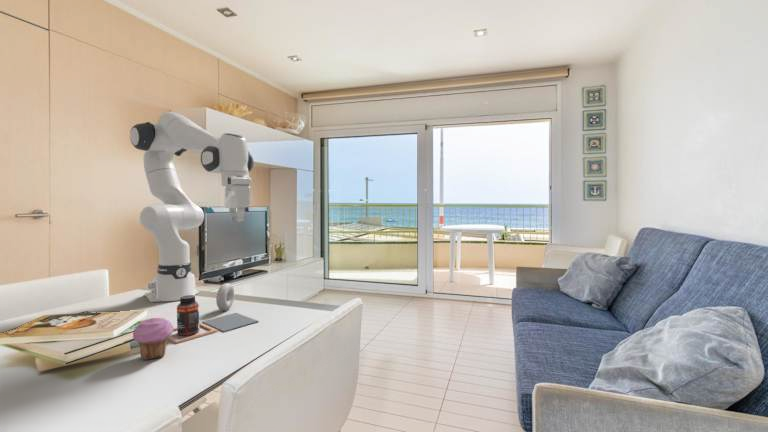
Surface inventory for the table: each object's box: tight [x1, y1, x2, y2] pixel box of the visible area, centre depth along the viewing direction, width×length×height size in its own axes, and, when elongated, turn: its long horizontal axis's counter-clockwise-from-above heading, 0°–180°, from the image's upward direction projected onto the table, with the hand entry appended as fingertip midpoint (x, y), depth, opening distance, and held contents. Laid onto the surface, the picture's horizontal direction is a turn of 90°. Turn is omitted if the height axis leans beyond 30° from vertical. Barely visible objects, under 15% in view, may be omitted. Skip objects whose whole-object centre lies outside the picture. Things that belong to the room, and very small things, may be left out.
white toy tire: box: [216, 282, 235, 312], centre depth 133 cm, size 10×4×10 cm, turn 179°
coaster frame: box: [168, 321, 219, 344], centre depth 110 cm, size 12×12×1 cm
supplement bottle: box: [176, 295, 200, 337], centre depth 110 cm, size 6×6×11 cm
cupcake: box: [132, 317, 174, 361], centre depth 93 cm, size 9×9×10 cm
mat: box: [201, 312, 259, 333], centre depth 120 cm, size 14×12×1 cm
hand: (237, 221), depth 124 cm, fingers open, 8 cm apart
